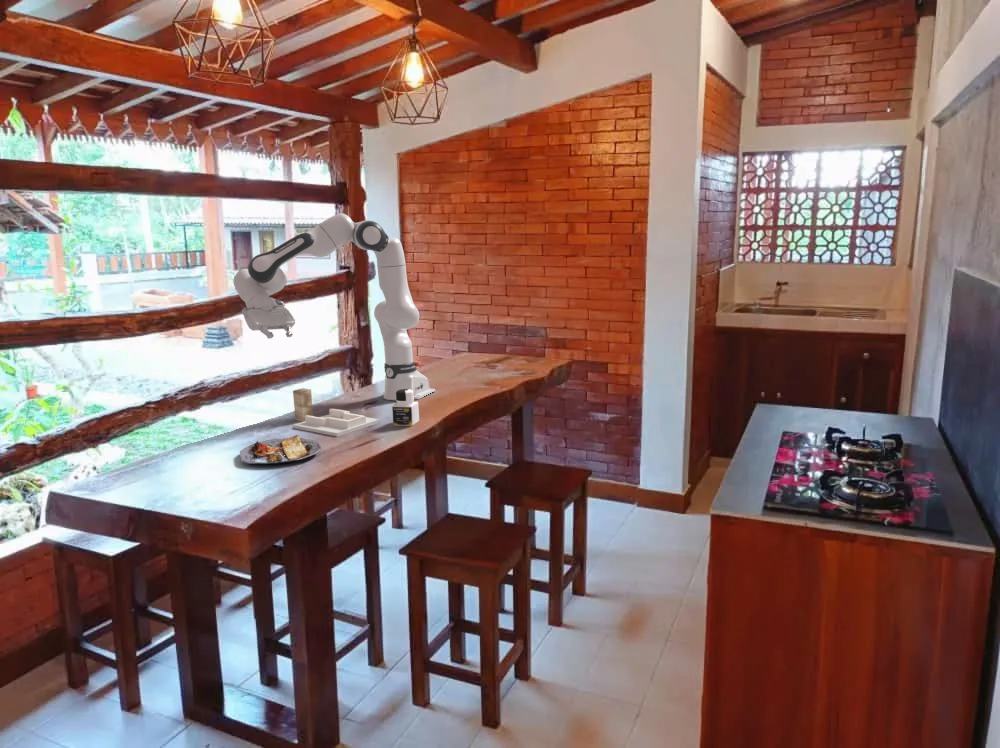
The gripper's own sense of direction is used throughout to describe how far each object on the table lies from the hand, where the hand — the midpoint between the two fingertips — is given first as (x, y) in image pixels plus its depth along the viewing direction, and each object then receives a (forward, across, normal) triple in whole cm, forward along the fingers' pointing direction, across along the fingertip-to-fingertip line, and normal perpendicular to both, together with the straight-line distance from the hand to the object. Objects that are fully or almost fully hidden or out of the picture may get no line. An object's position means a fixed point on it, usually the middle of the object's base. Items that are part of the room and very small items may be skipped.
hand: (281, 336), depth 267 cm
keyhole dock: (+40, -1, 0) cm, 40 cm away
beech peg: (+28, +1, +13) cm, 31 cm away
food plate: (+47, -34, -2) cm, 59 cm away
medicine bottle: (+54, +11, -16) cm, 57 cm away
